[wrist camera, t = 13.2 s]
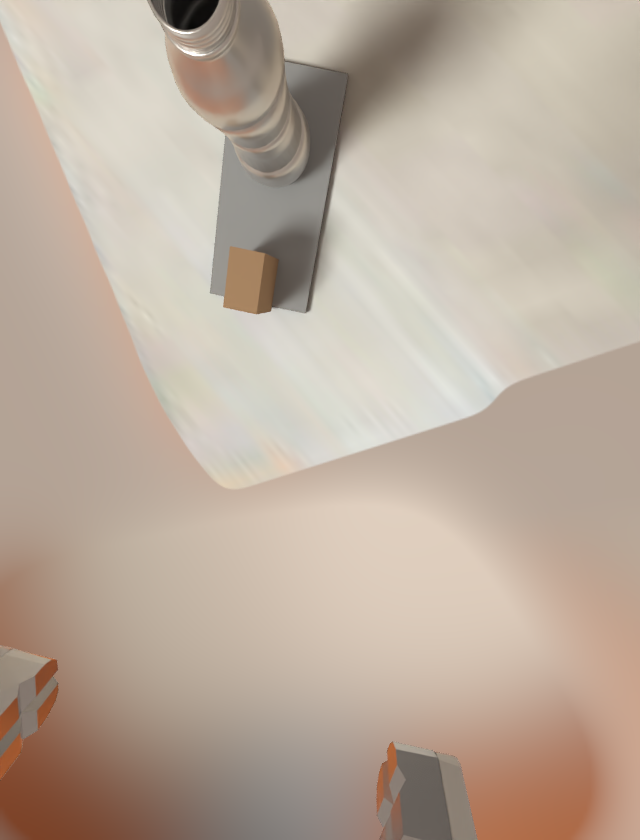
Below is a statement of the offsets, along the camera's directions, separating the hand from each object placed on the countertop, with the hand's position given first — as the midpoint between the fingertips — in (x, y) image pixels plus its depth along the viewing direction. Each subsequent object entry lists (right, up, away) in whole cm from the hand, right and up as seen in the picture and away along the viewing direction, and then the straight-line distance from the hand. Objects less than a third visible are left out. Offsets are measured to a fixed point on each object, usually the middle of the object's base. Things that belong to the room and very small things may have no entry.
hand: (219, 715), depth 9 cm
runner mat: (-2, +28, +27) cm, 39 cm away
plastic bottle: (-1, +31, +26) cm, 41 cm away
